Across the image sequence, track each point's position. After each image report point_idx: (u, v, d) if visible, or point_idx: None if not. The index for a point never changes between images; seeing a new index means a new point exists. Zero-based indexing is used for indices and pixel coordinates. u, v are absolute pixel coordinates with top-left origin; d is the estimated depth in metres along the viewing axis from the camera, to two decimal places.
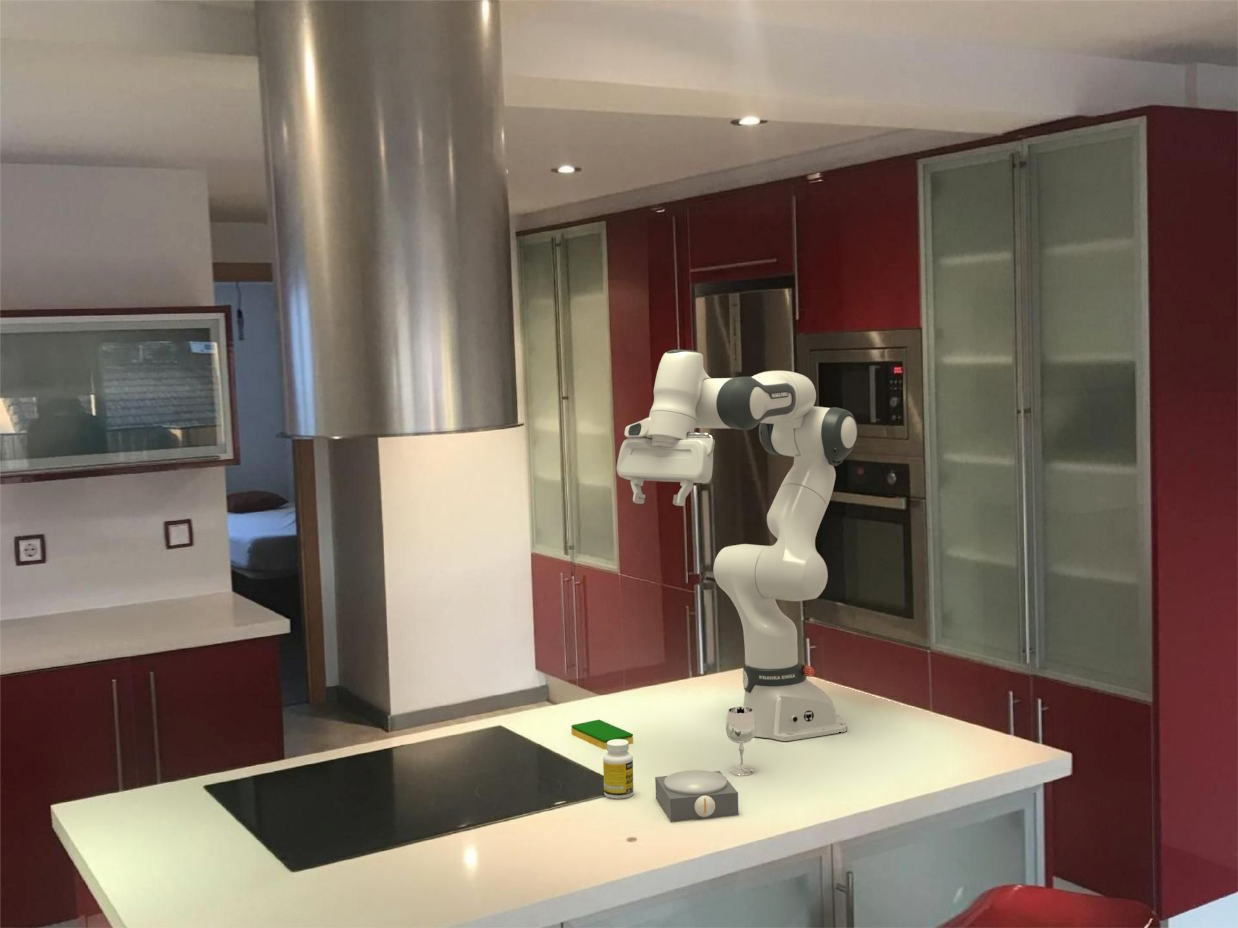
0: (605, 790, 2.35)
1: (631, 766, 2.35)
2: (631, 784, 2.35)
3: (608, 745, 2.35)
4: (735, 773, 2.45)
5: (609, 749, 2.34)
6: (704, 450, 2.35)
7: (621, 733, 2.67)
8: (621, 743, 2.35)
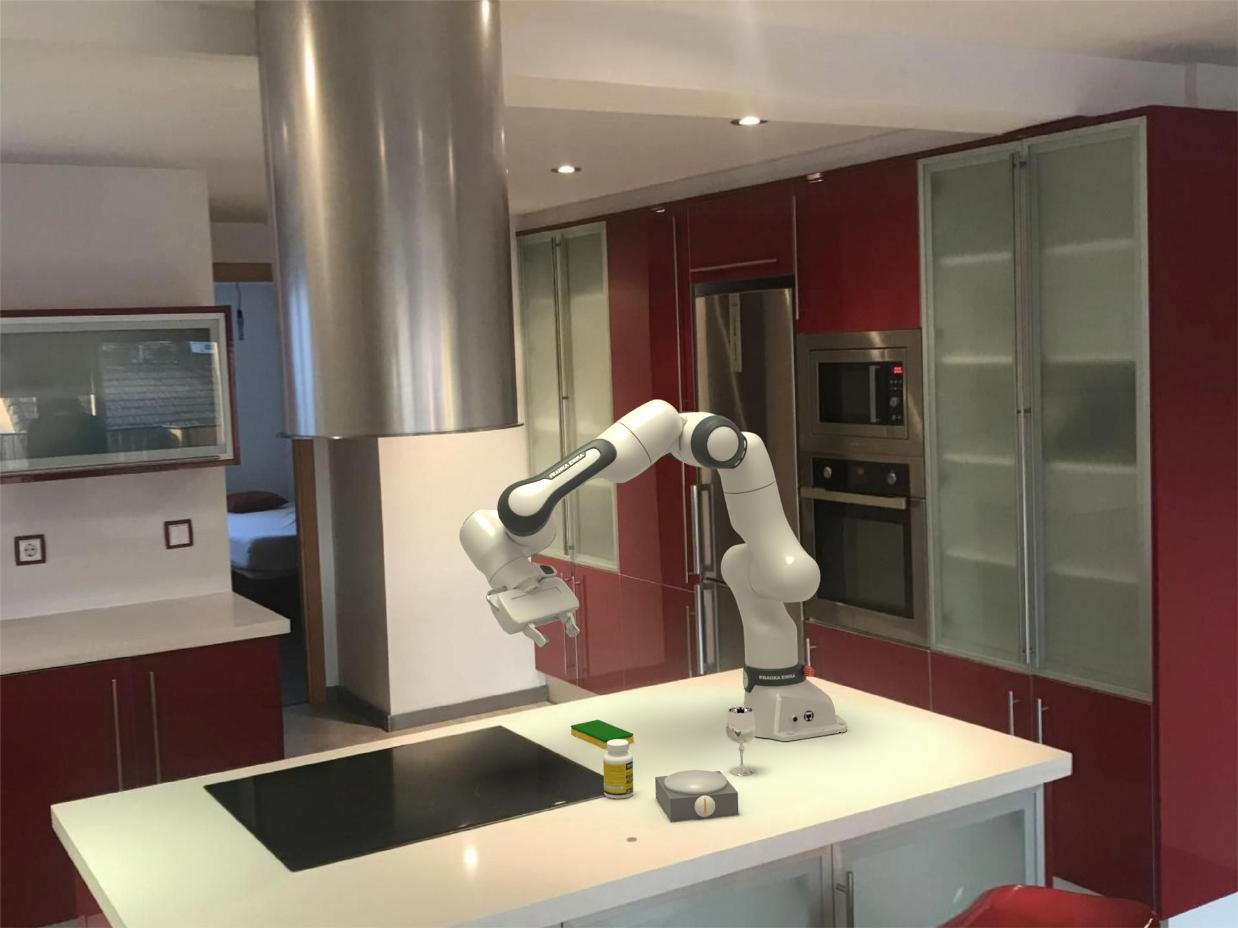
0: (605, 790, 2.35)
1: (631, 766, 2.35)
2: (631, 784, 2.35)
3: (608, 745, 2.35)
4: (735, 773, 2.45)
5: (609, 749, 2.34)
6: (493, 611, 2.37)
7: (622, 733, 2.68)
8: (621, 743, 2.35)
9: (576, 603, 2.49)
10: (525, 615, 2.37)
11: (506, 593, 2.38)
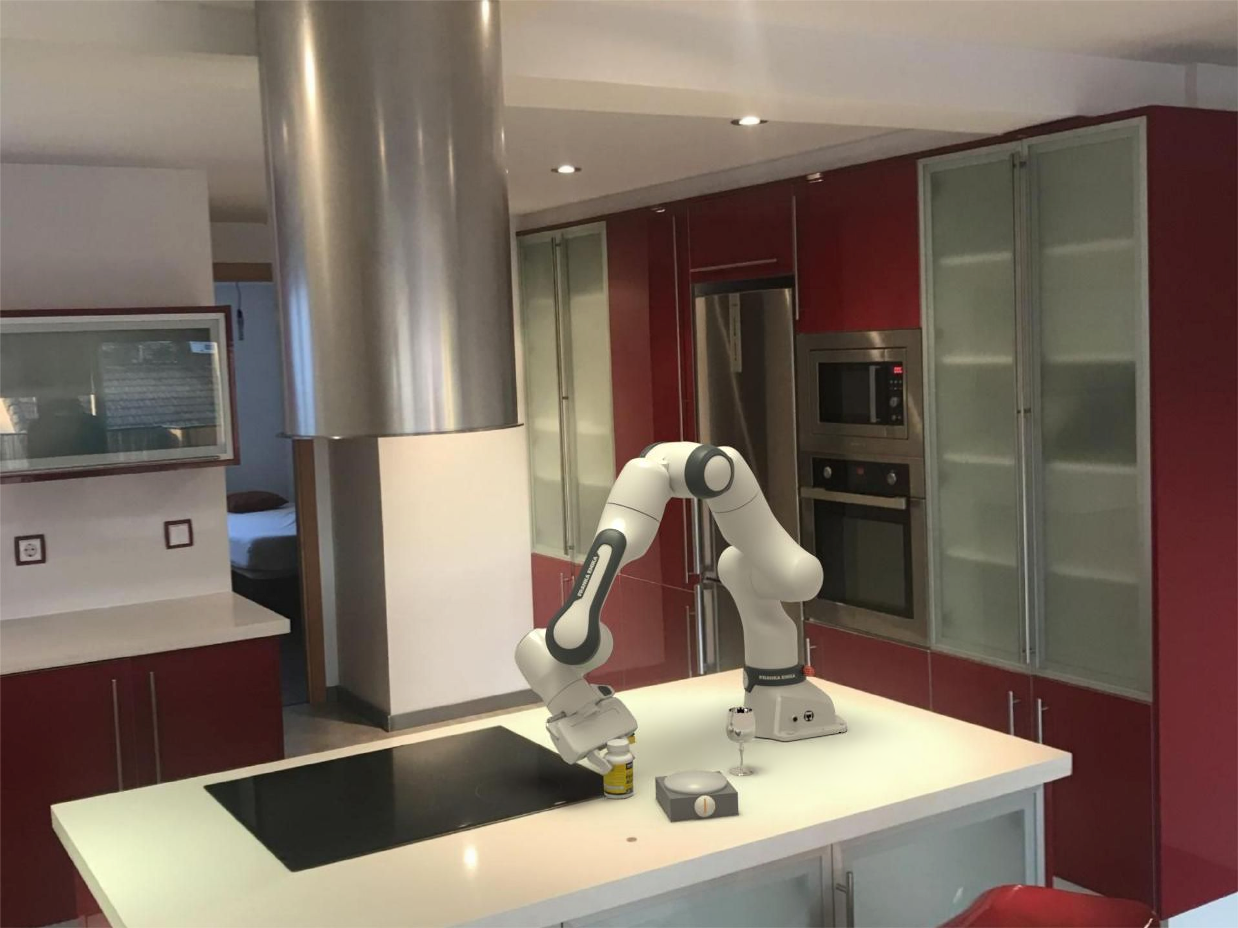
0: (605, 790, 2.35)
1: (631, 766, 2.35)
2: (631, 784, 2.35)
3: (608, 745, 2.35)
4: (735, 773, 2.45)
5: (609, 749, 2.34)
6: (553, 739, 2.32)
7: None
8: (621, 743, 2.35)
9: (635, 724, 2.44)
10: (586, 743, 2.31)
11: (565, 720, 2.33)
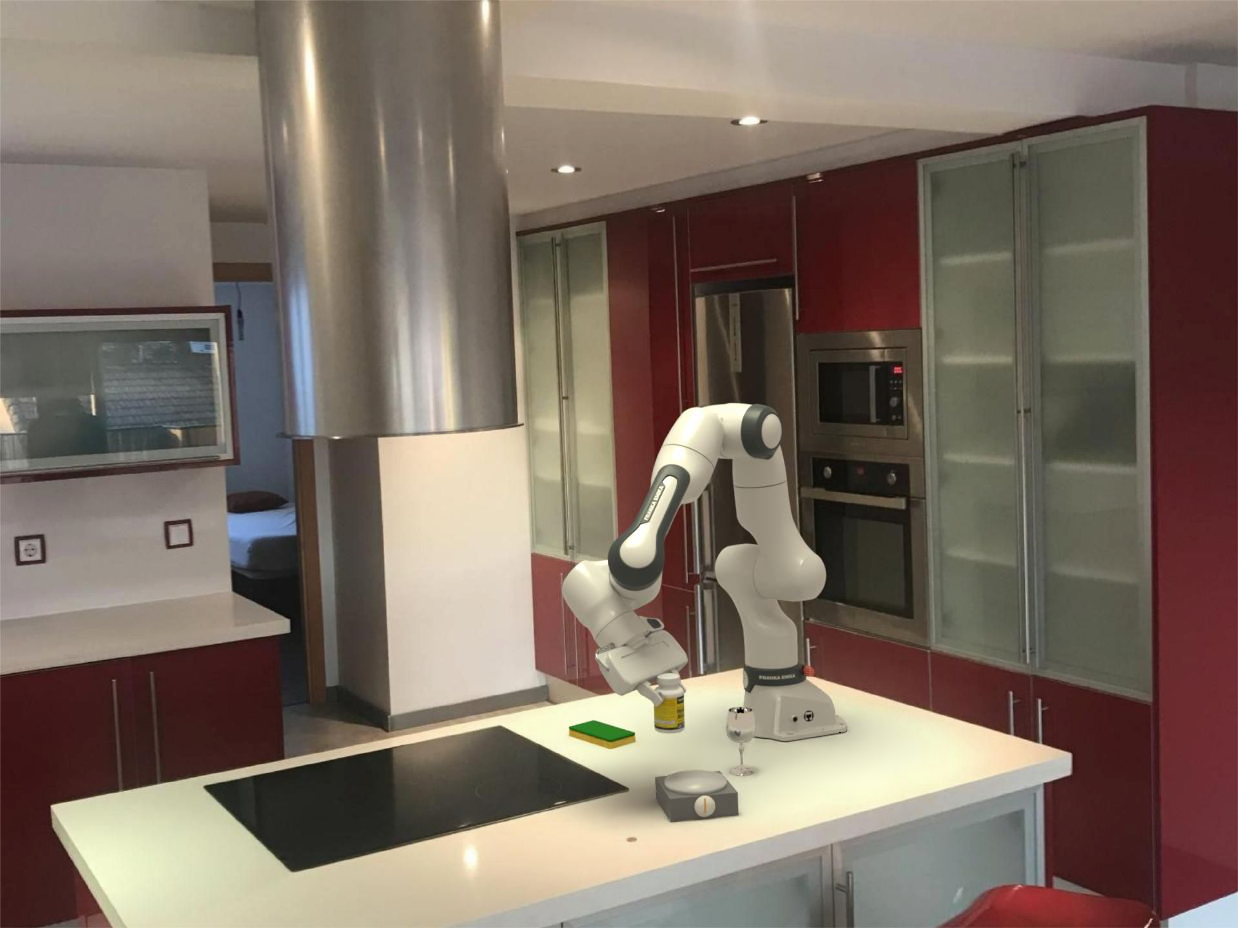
0: (656, 725, 2.29)
1: (682, 700, 2.28)
2: (682, 719, 2.29)
3: (658, 679, 2.28)
4: (735, 773, 2.45)
5: (660, 683, 2.28)
6: (602, 671, 2.25)
7: (623, 732, 2.68)
8: (672, 677, 2.28)
9: (685, 658, 2.37)
10: (636, 675, 2.25)
11: (615, 651, 2.26)
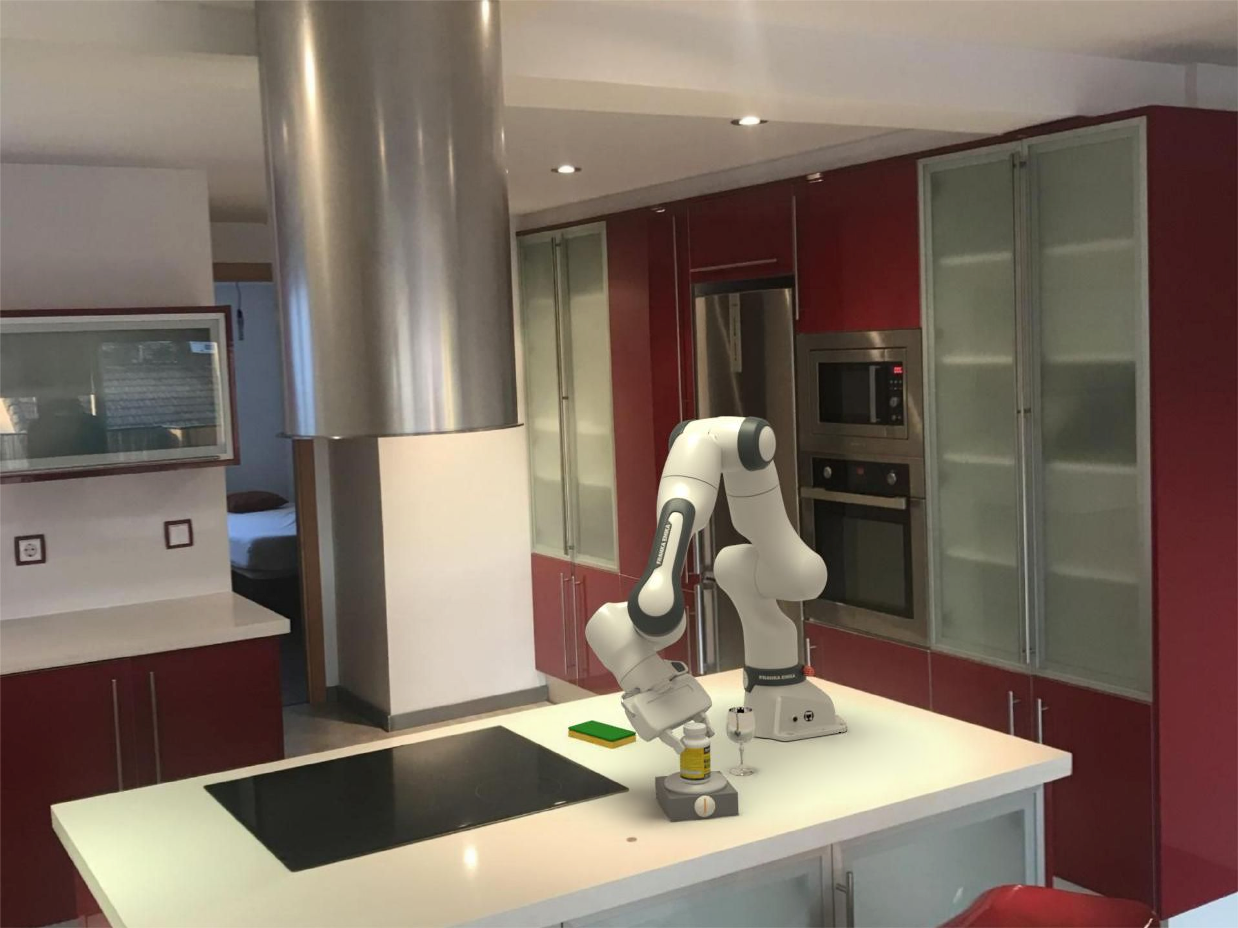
0: (682, 775, 2.27)
1: (709, 750, 2.27)
2: (709, 769, 2.27)
3: (685, 728, 2.27)
4: (735, 773, 2.45)
5: (686, 733, 2.26)
6: (628, 716, 2.23)
7: (624, 731, 2.68)
8: (698, 726, 2.27)
9: (709, 702, 2.35)
10: (663, 720, 2.23)
11: (641, 696, 2.25)
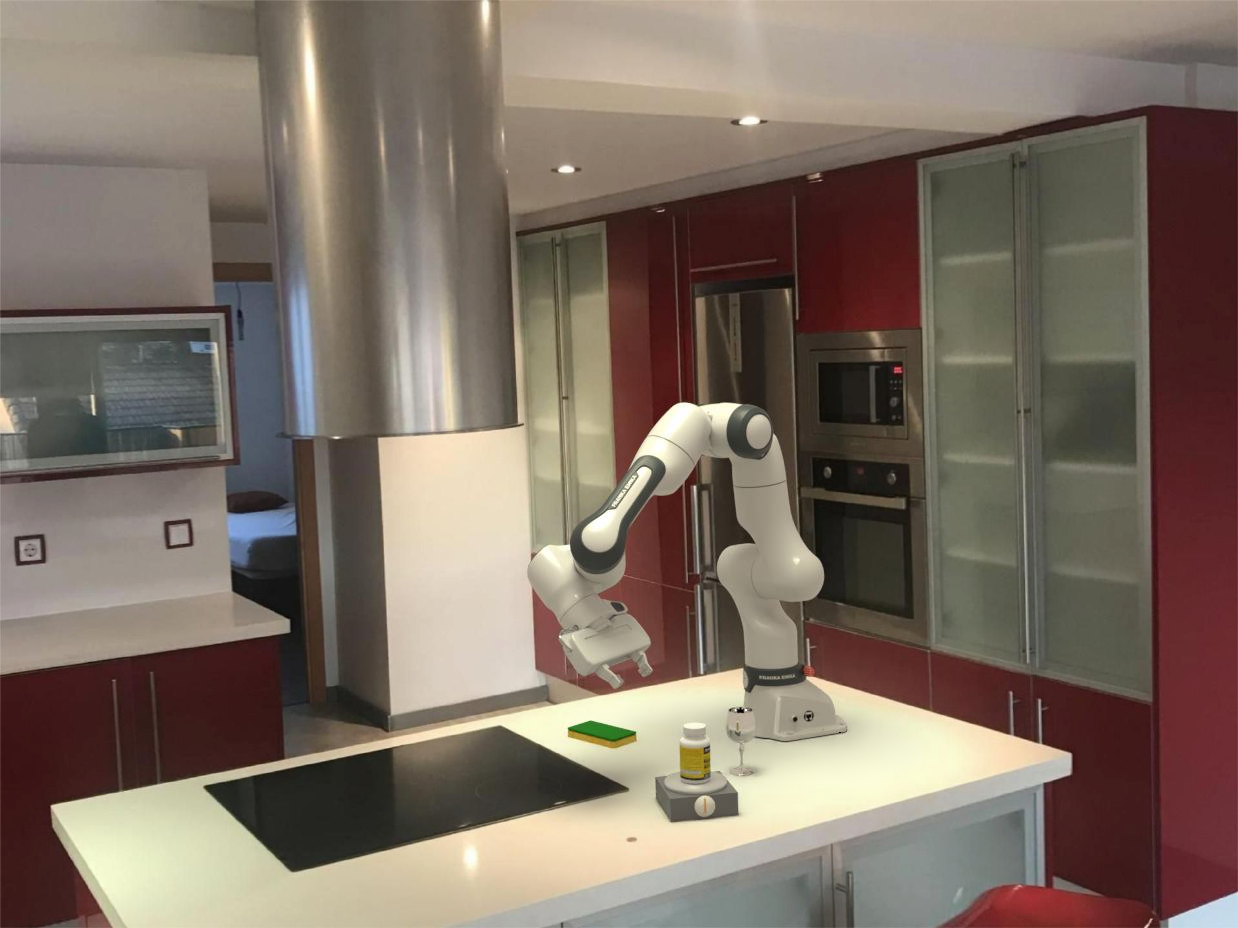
0: (682, 775, 2.27)
1: (709, 750, 2.27)
2: (709, 769, 2.27)
3: (685, 728, 2.27)
4: (735, 773, 2.45)
5: (686, 733, 2.26)
6: (566, 651, 2.30)
7: (625, 731, 2.69)
8: (698, 726, 2.27)
9: (648, 641, 2.42)
10: (599, 655, 2.30)
11: (578, 633, 2.31)
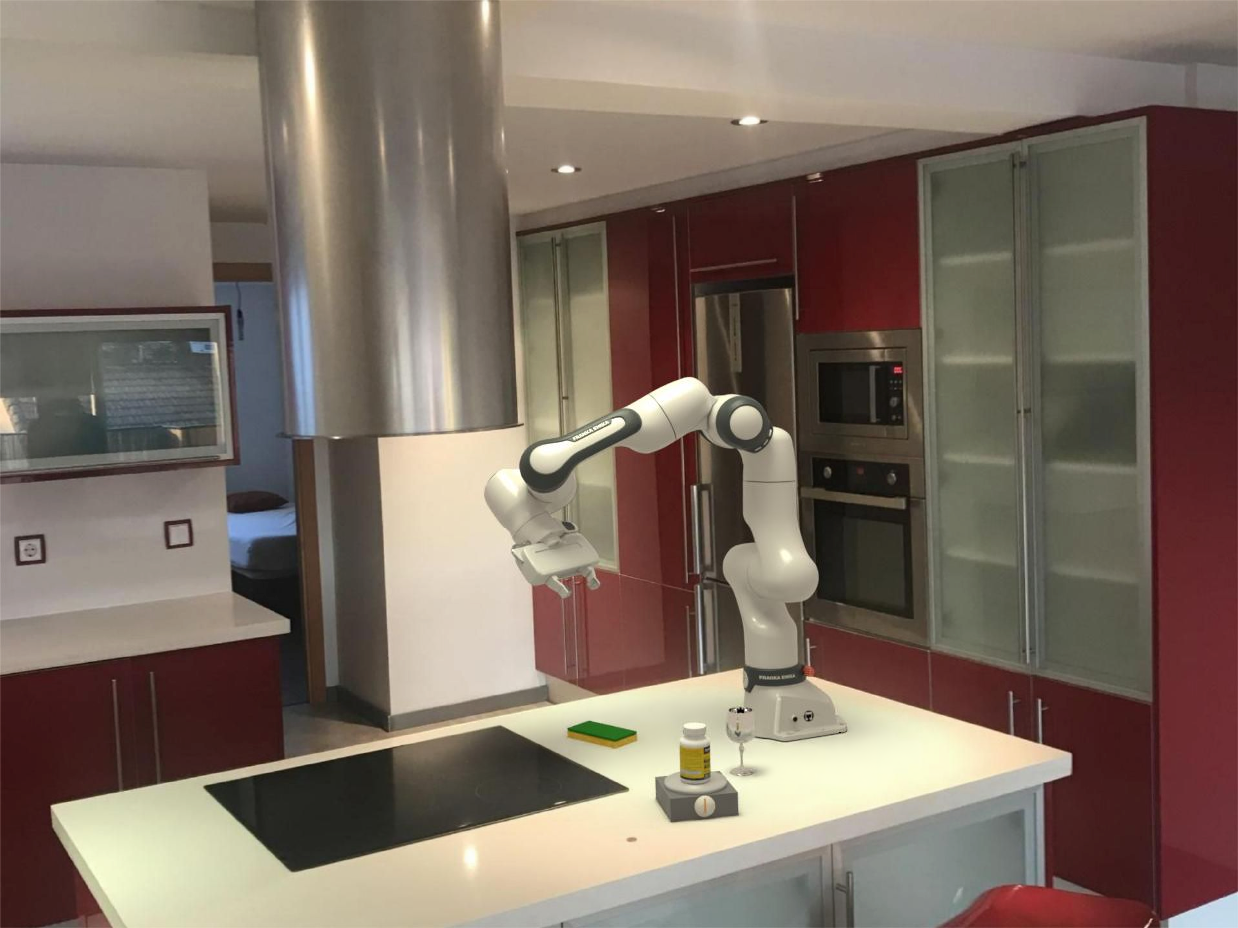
0: (682, 775, 2.27)
1: (709, 750, 2.27)
2: (709, 769, 2.27)
3: (685, 729, 2.27)
4: (735, 773, 2.45)
5: (686, 733, 2.26)
6: (518, 564, 2.47)
7: (625, 731, 2.69)
8: (698, 726, 2.27)
9: (596, 558, 2.59)
10: (549, 567, 2.47)
11: (530, 547, 2.48)
